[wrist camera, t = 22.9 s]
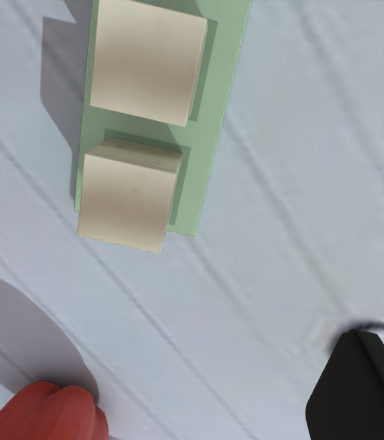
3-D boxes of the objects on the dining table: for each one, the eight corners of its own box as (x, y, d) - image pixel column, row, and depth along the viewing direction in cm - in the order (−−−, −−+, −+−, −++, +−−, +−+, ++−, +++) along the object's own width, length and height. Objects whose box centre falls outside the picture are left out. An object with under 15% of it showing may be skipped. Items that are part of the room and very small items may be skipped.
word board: (113, -190, 18) (109, -201, 17) (286, -146, 18) (289, -155, 18) (77, 207, 27) (73, 211, 26) (195, 232, 27) (194, 237, 26)
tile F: (109, 136, 24) (84, 153, 19) (183, 153, 24) (176, 173, 19) (100, 205, 26) (76, 235, 21) (169, 220, 26) (160, 253, 21)
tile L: (124, 8, 21) (98, -8, 16) (208, 28, 21) (207, 17, 16) (113, 97, 23) (88, 105, 18) (190, 115, 23) (185, 127, 18)
